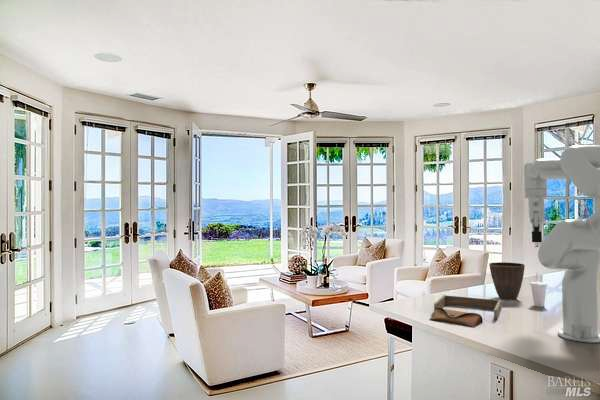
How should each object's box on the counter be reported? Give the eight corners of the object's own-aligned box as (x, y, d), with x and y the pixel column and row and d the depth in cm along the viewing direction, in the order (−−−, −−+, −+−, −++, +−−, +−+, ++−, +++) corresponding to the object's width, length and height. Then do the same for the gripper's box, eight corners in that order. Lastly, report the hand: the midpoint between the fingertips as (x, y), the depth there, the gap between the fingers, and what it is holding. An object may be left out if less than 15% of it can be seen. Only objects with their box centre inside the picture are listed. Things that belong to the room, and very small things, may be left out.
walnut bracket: (497, 320, 159) (496, 309, 159) (434, 313, 170) (434, 303, 170) (501, 309, 175) (501, 300, 175) (443, 304, 187) (443, 295, 187)
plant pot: (493, 301, 192) (492, 265, 192) (487, 294, 206) (486, 261, 207) (529, 302, 188) (528, 266, 189) (520, 295, 203) (519, 262, 203)
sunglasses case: (426, 319, 160) (430, 303, 163) (433, 325, 165) (436, 309, 168) (476, 328, 149) (478, 309, 152) (481, 334, 154) (483, 316, 157)
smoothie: (532, 303, 187) (531, 271, 187) (549, 305, 183) (548, 272, 183) (529, 306, 182) (528, 273, 182) (546, 308, 178) (545, 274, 178)
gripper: (547, 193, 153) (548, 243, 153) (546, 194, 166) (548, 241, 166) (523, 193, 157) (524, 243, 157) (525, 194, 170) (526, 240, 170)
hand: (536, 242), depth 161 cm, fingers closed
